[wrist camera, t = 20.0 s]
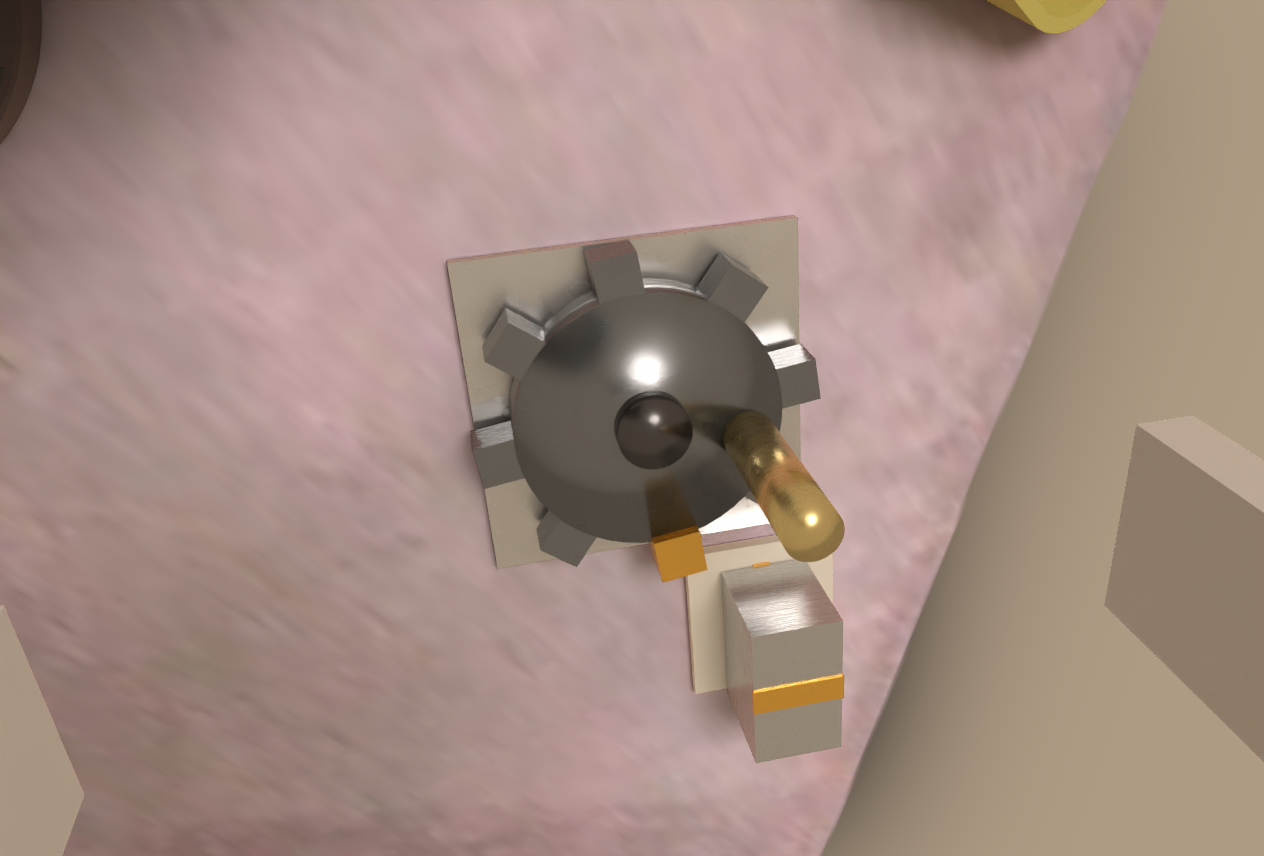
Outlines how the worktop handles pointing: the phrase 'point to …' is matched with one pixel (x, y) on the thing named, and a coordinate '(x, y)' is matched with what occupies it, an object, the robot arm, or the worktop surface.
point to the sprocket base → (561, 276)
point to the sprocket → (654, 416)
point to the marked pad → (709, 601)
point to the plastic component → (1050, 12)
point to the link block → (783, 659)
